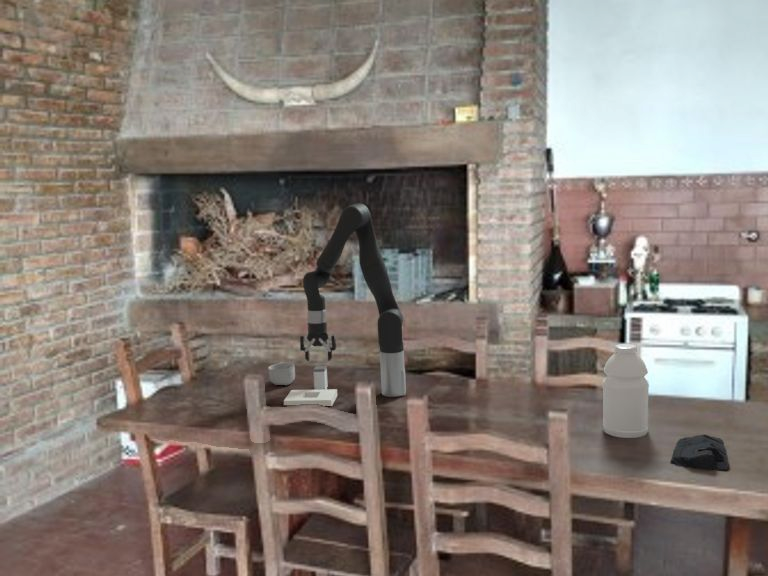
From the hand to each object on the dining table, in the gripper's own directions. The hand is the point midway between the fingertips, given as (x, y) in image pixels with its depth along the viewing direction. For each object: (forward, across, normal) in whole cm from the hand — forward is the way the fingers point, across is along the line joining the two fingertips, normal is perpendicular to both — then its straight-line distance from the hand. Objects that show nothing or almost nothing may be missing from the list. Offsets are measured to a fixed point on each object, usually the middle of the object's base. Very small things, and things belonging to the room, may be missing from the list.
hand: (318, 360), depth 301 cm
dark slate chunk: (+11, -125, +74) cm, 146 cm away
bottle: (+10, -108, +54) cm, 121 cm away
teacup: (+12, +18, -10) cm, 24 cm away
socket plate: (+12, +1, +16) cm, 20 cm away
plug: (+12, 0, 0) cm, 12 cm away
